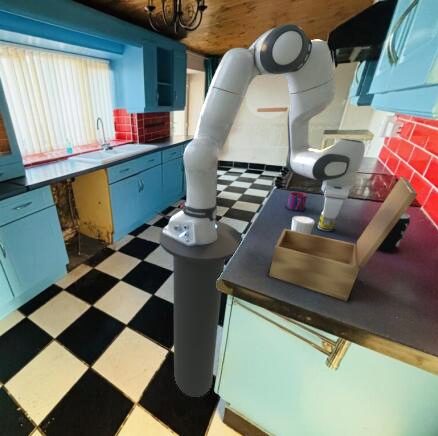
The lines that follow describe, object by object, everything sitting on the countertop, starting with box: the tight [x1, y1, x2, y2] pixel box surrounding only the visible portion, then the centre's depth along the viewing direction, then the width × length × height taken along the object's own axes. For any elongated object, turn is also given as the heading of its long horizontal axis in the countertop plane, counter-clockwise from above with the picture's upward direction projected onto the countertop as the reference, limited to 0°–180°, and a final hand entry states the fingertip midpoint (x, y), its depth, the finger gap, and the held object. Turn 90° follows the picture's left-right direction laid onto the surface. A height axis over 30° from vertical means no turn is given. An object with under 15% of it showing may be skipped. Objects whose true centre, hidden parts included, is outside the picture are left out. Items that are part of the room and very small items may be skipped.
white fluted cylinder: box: [290, 215, 316, 234], centre depth 85 cm, size 7×7×7 cm
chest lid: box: [356, 176, 419, 268], centre depth 53 cm, size 18×13×1 cm
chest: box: [269, 228, 361, 302], centre depth 65 cm, size 18×13×10 cm
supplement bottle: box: [317, 211, 337, 232], centre depth 89 cm, size 5×5×8 cm
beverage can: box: [377, 212, 411, 253], centre depth 75 cm, size 7×7×12 cm
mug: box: [286, 191, 308, 212], centre depth 107 cm, size 7×10×7 cm
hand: (326, 221), depth 90 cm, fingers closed on supplement bottle, 5 cm apart
